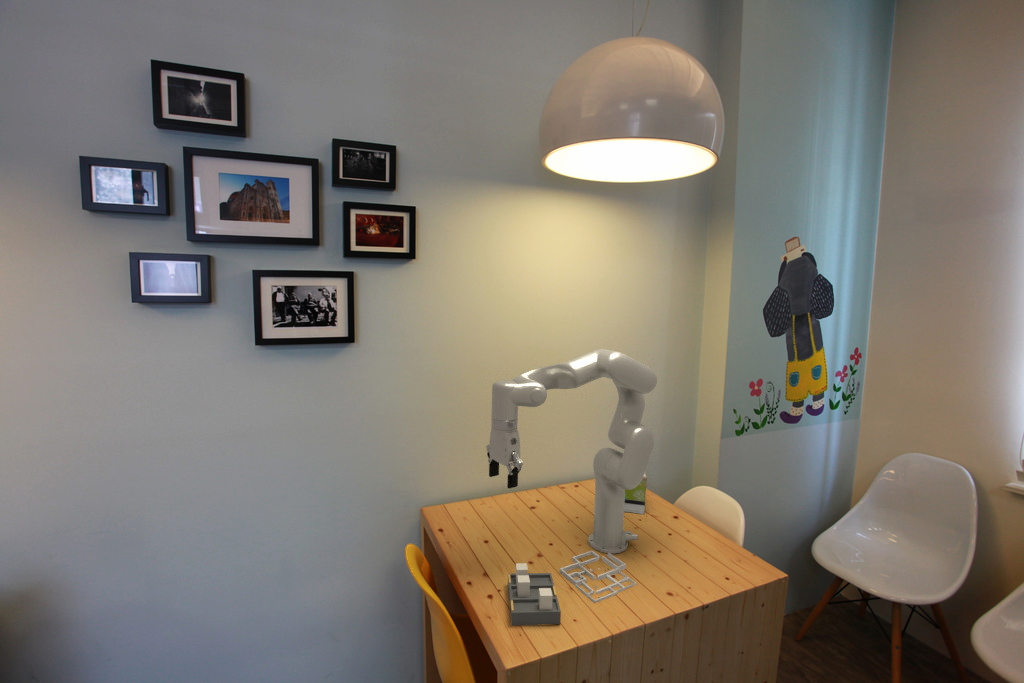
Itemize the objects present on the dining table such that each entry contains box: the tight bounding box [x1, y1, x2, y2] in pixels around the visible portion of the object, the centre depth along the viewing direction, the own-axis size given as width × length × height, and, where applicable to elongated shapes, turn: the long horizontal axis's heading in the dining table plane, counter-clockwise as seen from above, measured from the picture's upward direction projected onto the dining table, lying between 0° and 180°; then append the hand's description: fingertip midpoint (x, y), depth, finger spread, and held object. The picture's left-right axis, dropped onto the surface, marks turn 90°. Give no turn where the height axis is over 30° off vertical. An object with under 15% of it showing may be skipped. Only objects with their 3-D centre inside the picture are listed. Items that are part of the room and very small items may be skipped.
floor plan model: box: [559, 550, 637, 604], centre depth 136 cm, size 19×25×2 cm
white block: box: [517, 575, 530, 597], centre depth 119 cm, size 3×3×4 cm
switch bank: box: [507, 572, 562, 626], centre depth 120 cm, size 12×16×4 cm
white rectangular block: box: [515, 562, 529, 584], centre depth 125 cm, size 3×3×4 cm
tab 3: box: [538, 588, 553, 610], centre depth 114 cm, size 3×3×4 cm
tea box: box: [624, 471, 648, 515], centre depth 178 cm, size 15×10×15 cm, turn 77°
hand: (502, 481), depth 133 cm, fingers open, 9 cm apart
